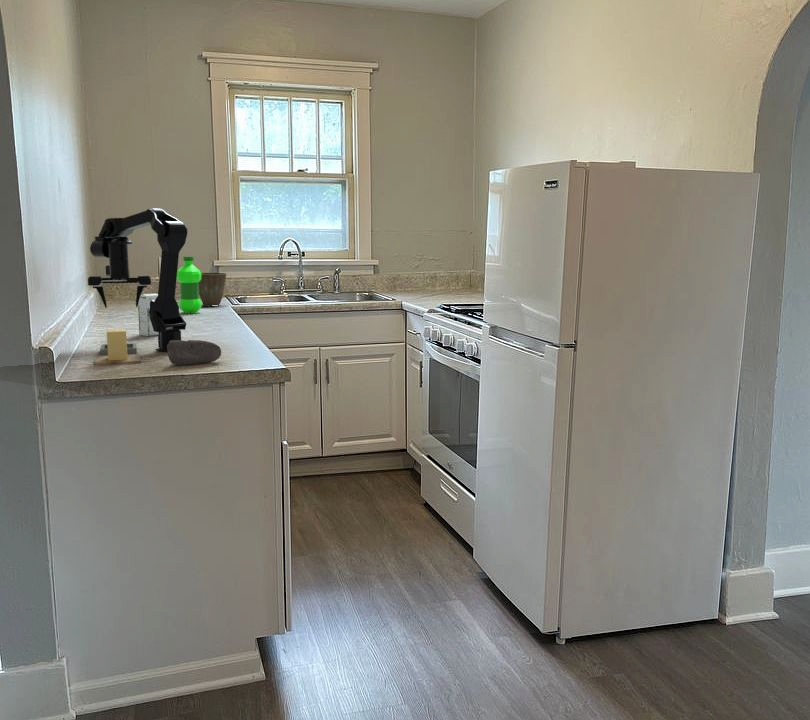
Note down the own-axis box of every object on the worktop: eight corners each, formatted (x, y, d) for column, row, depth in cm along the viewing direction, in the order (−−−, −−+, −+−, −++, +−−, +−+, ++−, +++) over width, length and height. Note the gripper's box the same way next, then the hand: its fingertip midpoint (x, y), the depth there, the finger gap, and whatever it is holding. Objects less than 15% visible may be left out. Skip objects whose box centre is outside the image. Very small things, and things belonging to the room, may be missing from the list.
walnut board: (140, 356, 217) (140, 354, 217) (140, 363, 206) (140, 360, 206) (96, 358, 213) (96, 356, 213) (94, 365, 202) (94, 363, 202)
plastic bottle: (198, 311, 338) (196, 256, 333) (205, 313, 329) (203, 257, 324) (176, 312, 332) (173, 256, 328) (182, 314, 324) (180, 257, 319)
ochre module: (127, 356, 213) (125, 329, 211) (127, 359, 208) (125, 331, 207) (108, 357, 211) (107, 329, 210) (108, 360, 206) (106, 332, 205)
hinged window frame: (136, 344, 239) (136, 338, 238) (136, 354, 220) (136, 348, 219) (103, 345, 235) (102, 339, 235) (100, 356, 216) (100, 349, 216)
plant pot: (197, 304, 366) (196, 272, 364) (228, 304, 369) (227, 272, 366) (194, 307, 352) (193, 274, 349) (226, 307, 355) (225, 274, 352)
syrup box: (153, 333, 265) (151, 293, 262) (162, 335, 261) (160, 294, 258) (139, 335, 260) (136, 294, 258) (148, 336, 257) (146, 295, 254)
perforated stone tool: (220, 360, 212) (219, 336, 210) (223, 363, 207) (222, 339, 206) (165, 364, 206) (164, 339, 204) (167, 367, 201) (166, 342, 200)
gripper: (149, 257, 245) (151, 304, 248) (88, 257, 239) (91, 305, 242) (149, 258, 235) (152, 307, 238) (86, 258, 229) (89, 309, 231)
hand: (121, 307), depth 237 cm, fingers open, 9 cm apart
